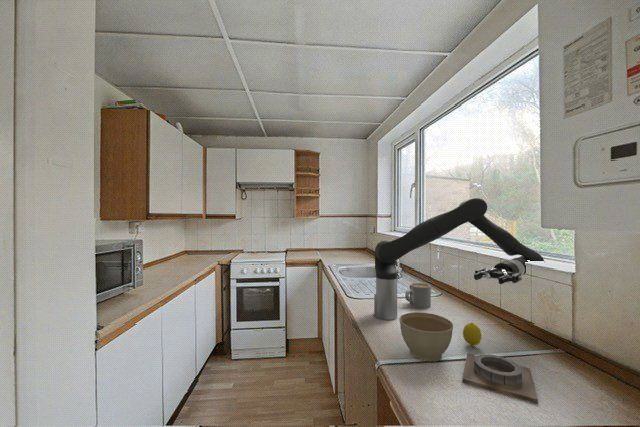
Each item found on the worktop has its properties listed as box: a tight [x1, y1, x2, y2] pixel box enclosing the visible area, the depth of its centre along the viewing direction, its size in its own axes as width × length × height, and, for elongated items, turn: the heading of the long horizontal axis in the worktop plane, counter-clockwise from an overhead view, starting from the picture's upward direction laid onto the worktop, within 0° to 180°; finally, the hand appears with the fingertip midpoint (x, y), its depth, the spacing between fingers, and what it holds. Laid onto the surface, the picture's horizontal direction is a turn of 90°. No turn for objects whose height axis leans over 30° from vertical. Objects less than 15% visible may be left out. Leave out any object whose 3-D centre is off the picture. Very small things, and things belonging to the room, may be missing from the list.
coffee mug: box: [404, 282, 432, 309], centre depth 139 cm, size 13×10×10 cm
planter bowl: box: [399, 311, 454, 362], centre depth 89 cm, size 16×16×11 cm
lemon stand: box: [462, 353, 539, 404], centre depth 77 cm, size 16×16×4 cm
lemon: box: [462, 322, 482, 347], centre depth 95 cm, size 6×6×8 cm
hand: (487, 279), depth 100 cm, fingers open, 8 cm apart
